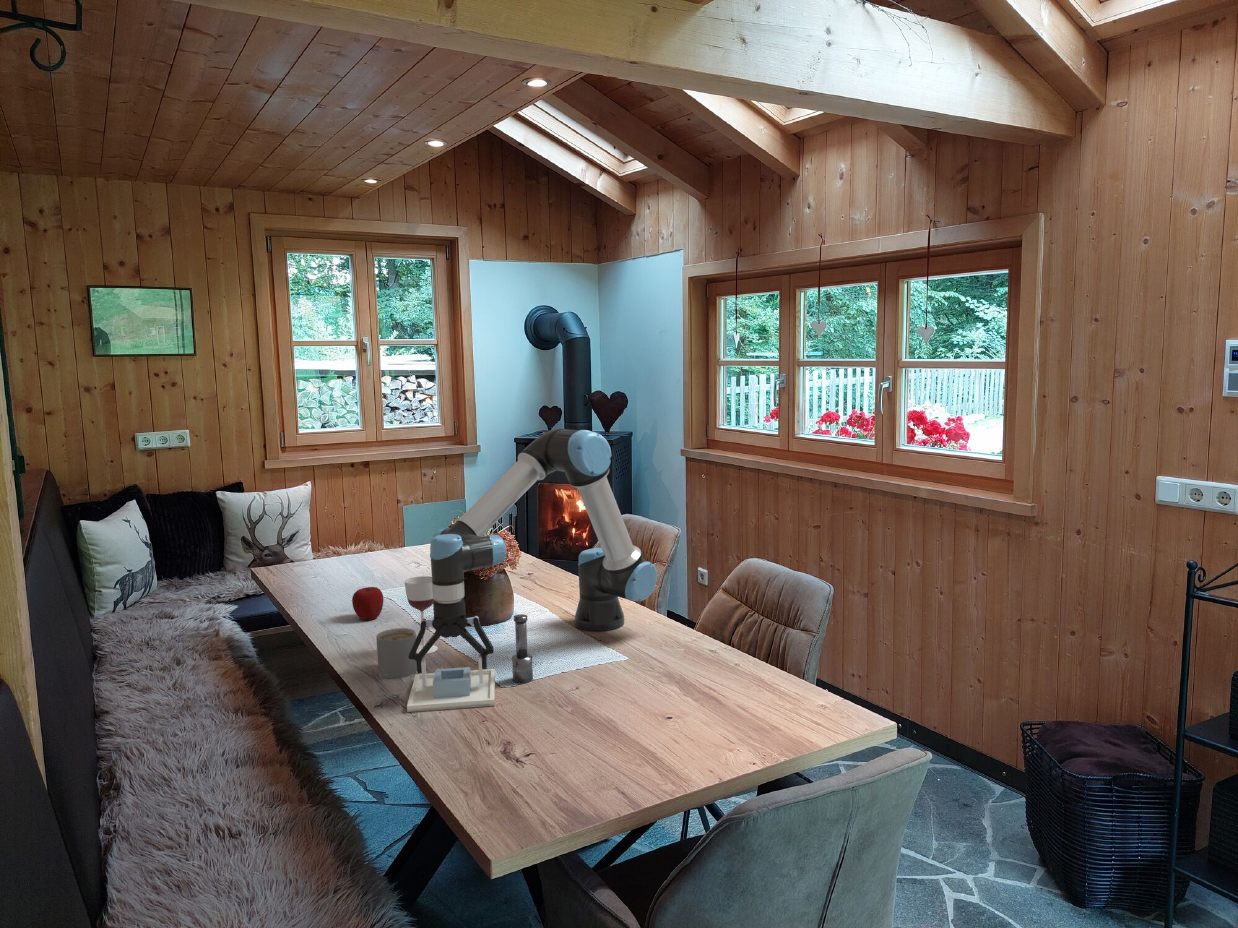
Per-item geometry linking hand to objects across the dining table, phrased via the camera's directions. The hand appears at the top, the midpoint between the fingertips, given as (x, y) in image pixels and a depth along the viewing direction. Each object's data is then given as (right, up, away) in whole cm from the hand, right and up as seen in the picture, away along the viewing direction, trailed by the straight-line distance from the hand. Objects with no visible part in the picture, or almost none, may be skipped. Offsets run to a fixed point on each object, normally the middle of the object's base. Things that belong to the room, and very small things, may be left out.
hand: (453, 683), depth 209 cm
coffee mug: (-18, -1, +17) cm, 25 cm away
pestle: (+16, -1, +7) cm, 18 cm away
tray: (0, -2, 0) cm, 2 cm away
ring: (0, -2, 0) cm, 2 cm away
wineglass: (-14, +1, +31) cm, 35 cm away
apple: (-38, +5, +61) cm, 73 cm away
